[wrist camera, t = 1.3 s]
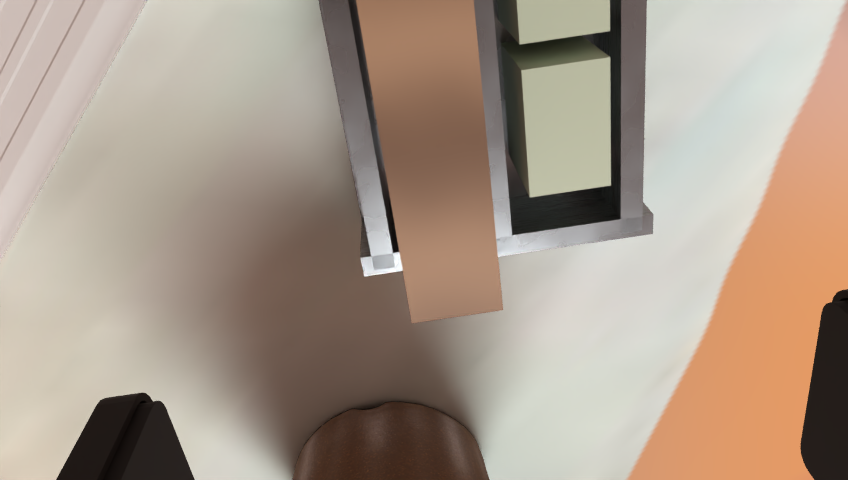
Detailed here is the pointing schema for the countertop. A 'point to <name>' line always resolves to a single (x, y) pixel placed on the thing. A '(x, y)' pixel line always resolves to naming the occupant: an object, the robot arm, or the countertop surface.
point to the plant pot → (391, 447)
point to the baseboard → (49, 87)
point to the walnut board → (434, 152)
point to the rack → (502, 142)
